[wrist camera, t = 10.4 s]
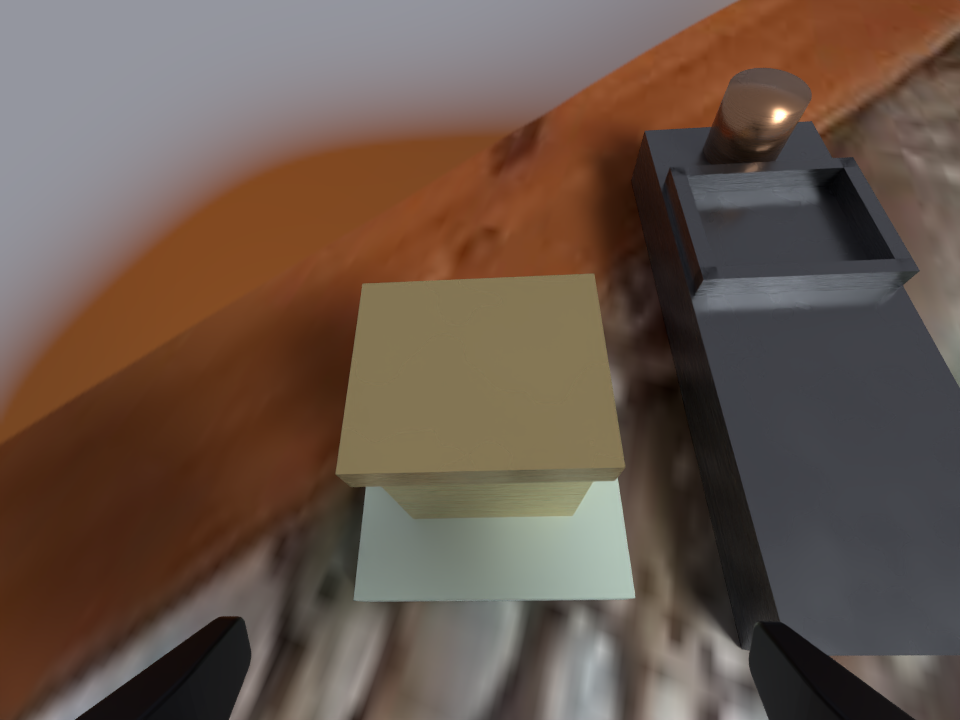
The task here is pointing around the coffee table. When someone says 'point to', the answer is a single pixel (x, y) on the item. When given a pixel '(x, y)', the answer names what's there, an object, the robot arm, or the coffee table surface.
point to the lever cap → (481, 397)
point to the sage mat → (494, 554)
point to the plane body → (805, 378)
